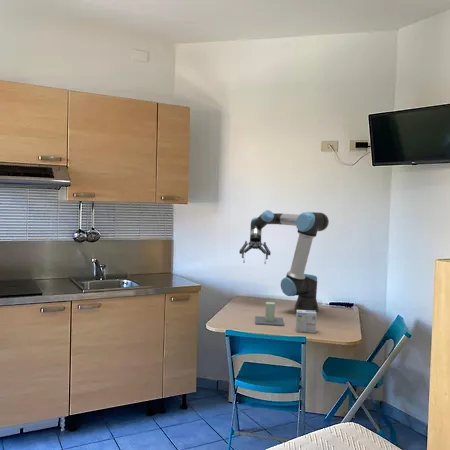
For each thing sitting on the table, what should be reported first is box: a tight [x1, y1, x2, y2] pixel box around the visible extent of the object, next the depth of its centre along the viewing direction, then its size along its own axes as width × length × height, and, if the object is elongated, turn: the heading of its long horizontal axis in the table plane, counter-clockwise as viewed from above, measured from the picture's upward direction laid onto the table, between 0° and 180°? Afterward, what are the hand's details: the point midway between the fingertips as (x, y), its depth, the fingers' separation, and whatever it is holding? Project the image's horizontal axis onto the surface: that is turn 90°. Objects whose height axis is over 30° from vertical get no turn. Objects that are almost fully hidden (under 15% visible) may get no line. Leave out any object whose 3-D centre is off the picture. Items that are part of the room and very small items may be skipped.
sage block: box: [264, 301, 276, 322], centre depth 267 cm, size 5×5×10 cm
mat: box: [254, 315, 285, 327], centre depth 267 cm, size 16×16×1 cm
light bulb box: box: [295, 310, 318, 334], centre depth 250 cm, size 11×7×11 cm, turn 84°
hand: (254, 262), depth 299 cm, fingers open, 13 cm apart
